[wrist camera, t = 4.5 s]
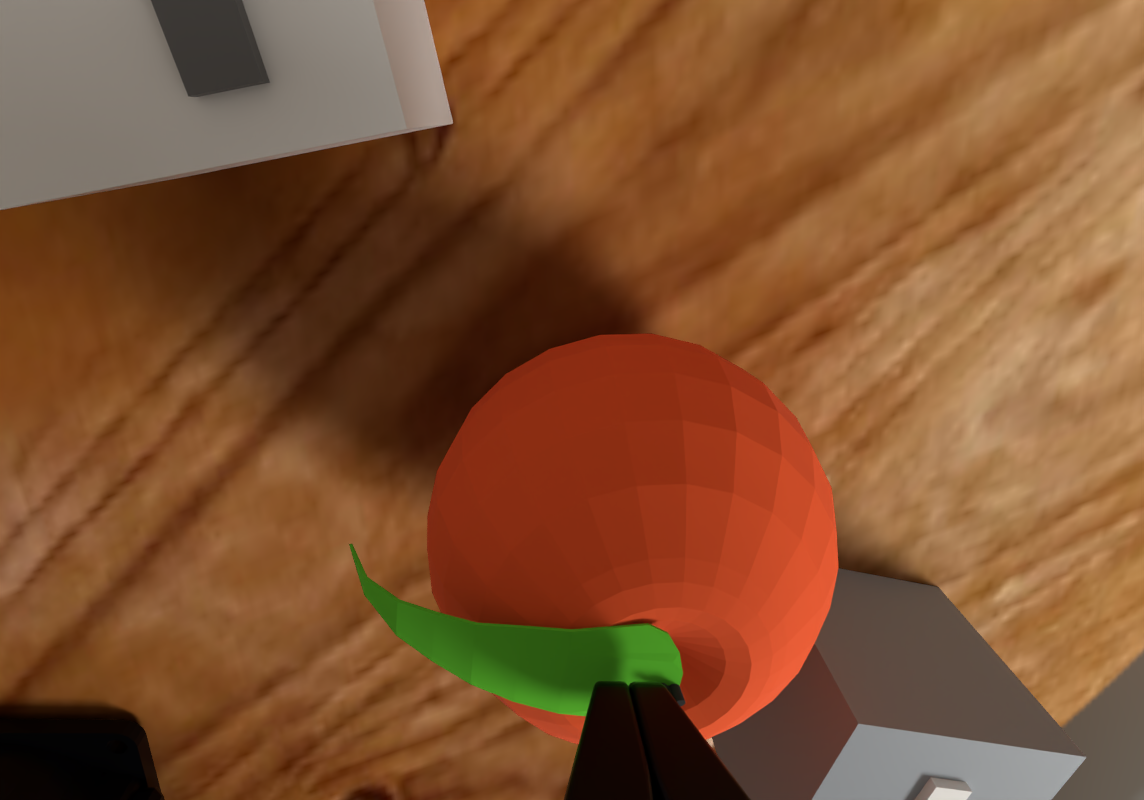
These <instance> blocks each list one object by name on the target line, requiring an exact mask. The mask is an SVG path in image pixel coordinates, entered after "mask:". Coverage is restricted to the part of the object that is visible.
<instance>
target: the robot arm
mask: <svg viewBox="0 0 1144 800" xmlns="http://www.w3.org/2000/svg"><path fill="white" fill-rule="evenodd" d="M0 800H164V796H163V795H162V793H161V790H160V786H159V782H158V778H157V774H156V770H155V767H154V763H153V759H152V755H151V751H150V747H149V743H148V740H147V736H146V733H145V731H144V729H143V728H142V727H141V726H140V725H138V724H137V723H134V722H132V721H128V720H49V719H0ZM564 800H751V799H750V798H749V797H748V795H747V794H746V793H745V791H744V790H743V789H742V787H741V786H740V785H739V783H738V782H737V781H736V779H735V778H734V777H733V775H732V774H731V773H730V771H729V770H728V769H727V767H726V766H725V765H724V763H723V762H722V761H721V759H720V758H719V757H718V755H717V754H716V753H715V751H714V750H713V749H712V748H711V746H710V745H709V744H708V742H707V741H706V740H705V738H704V737H703V736H702V734H701V733H700V732H699V730H698V729H697V728H696V726H695V725H694V724H693V722H692V721H691V720H690V718H689V717H688V716H687V714H686V713H685V712H684V710H683V709H682V708H681V706H680V705H679V704H678V703H677V701H676V700H675V699H674V697H673V696H672V695H671V693H670V692H669V691H668V689H667V688H666V687H665V686H664V685H663V684H662V683H660V682H638V681H634V682H631V683H630V684H629V686H628V685H627V683H625V682H622V681H598V682H596V683H595V685H594V688H593V691H592V695H591V699H590V702H589V706H588V710H587V714H586V718H585V721H584V725H583V729H582V733H581V737H580V740H579V744H578V748H577V752H576V756H575V759H574V763H573V767H572V771H571V775H570V778H569V782H568V786H567V790H566V794H565V797H564Z"/></svg>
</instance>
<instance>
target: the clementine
mask: <svg viewBox="0 0 1144 800" xmlns="http://www.w3.org/2000/svg"><path fill="white" fill-rule="evenodd" d="M349 545H350V549H351V552H352V555H353V559H354V562H355V565H356V569H357V572H358V575H359V579H360V582H361V586H362V589H363V592H364V595H365V596H366V598H367V599H368V600H369V601H370V603H371V604H372V605H373V606H374V608H375V609H376V610H377V612H378V613H379V614H380V615H381V617H382V618H383V619H384V620H385V622H386V623H387V624H388V625H389V627H390V628H391V629H392V631H393V632H394V633H395V634H396V636H398V637H399V638H401V639H402V640H403V641H405V642H406V643H408V644H409V645H410V646H412V647H413V648H414V649H416V650H417V651H419V652H420V653H421V654H423V655H424V656H426V657H427V658H428V659H430V660H431V661H433V662H434V663H436V664H438V665H439V666H441V667H443V668H444V669H446V670H448V671H449V672H451V673H453V674H454V675H456V676H458V677H459V678H461V679H463V680H464V681H466V682H468V683H469V684H471V685H474V686H476V687H479V688H481V689H483V690H486V691H488V692H491V693H492V694H493V695H494V696H496V697H497V698H498V699H499V700H500V701H502V702H503V703H504V704H505V705H506V706H508V707H509V708H510V709H511V710H512V711H514V712H515V713H516V714H517V715H518V716H520V717H522V718H523V719H525V720H526V721H528V722H529V723H531V724H533V725H534V726H536V727H537V728H539V729H541V730H542V731H544V732H545V733H547V734H549V735H551V736H554V737H557V738H560V739H563V740H566V741H569V742H572V743H575V744H579V740H580V737H581V733H582V729H583V725H584V721H585V718H586V714H587V710H588V706H589V702H590V699H591V695H592V691H593V688H594V685H595V683H596V682H598V681H622V682H625V683H627V685H628V686H629V684H630V683H631V682H634V681H638V682H660V683H662V684H663V685H664V686H665V687H666V688H667V689H668V691H669V692H670V693H671V695H672V696H673V697H674V699H675V700H676V701H677V703H678V704H679V705H680V706H681V708H682V709H683V710H684V712H685V713H686V714H687V716H688V717H689V718H690V720H691V721H692V722H693V724H694V725H695V726H696V728H697V729H698V730H699V732H700V733H701V734H702V736H703V737H704V738H705V740H706V739H709V738H711V737H713V736H715V735H717V734H720V733H722V732H724V731H726V730H728V729H730V728H732V727H734V726H736V725H738V724H740V723H742V722H743V721H745V720H746V719H747V718H749V717H750V716H752V715H753V714H755V713H756V712H757V711H759V710H760V709H762V708H763V707H765V706H766V705H767V704H769V703H770V702H772V701H773V700H774V699H775V698H776V697H777V696H778V695H779V694H780V692H781V691H782V690H783V689H784V688H785V687H786V686H787V685H788V684H789V683H790V682H791V680H792V679H793V678H794V677H795V676H796V675H797V674H798V673H799V671H800V669H801V667H802V666H803V664H804V662H805V660H806V658H807V656H808V654H809V653H810V651H811V649H812V647H813V645H814V643H815V641H816V639H817V637H818V635H819V632H820V630H821V628H822V626H823V623H824V621H825V619H826V616H827V614H828V612H829V610H830V606H831V602H832V597H833V592H834V587H835V583H836V578H837V573H838V568H839V567H838V548H837V531H836V522H835V513H834V504H833V495H832V488H831V486H830V484H829V482H828V479H827V477H826V475H825V473H824V471H823V469H822V467H821V465H820V463H819V461H818V458H817V456H816V454H815V452H814V450H813V448H812V446H811V444H810V442H809V440H808V439H807V437H806V435H805V433H804V431H803V429H802V427H801V425H800V424H799V422H798V420H797V418H796V417H795V416H794V415H793V414H792V412H791V411H790V410H789V409H788V408H787V407H786V406H785V405H784V404H783V403H782V402H781V401H780V400H779V399H778V398H777V397H776V396H775V395H774V394H773V393H772V392H771V391H770V389H769V388H768V387H767V386H766V385H765V384H764V383H763V382H761V381H760V380H758V379H757V378H755V377H754V376H752V375H751V374H749V373H748V372H746V371H745V370H743V369H742V368H740V367H738V366H736V365H735V364H733V363H731V362H729V361H727V360H726V359H724V358H722V357H720V356H718V355H717V354H715V353H713V352H711V351H709V350H708V349H706V348H704V347H702V346H700V345H697V344H693V343H689V342H684V341H680V340H676V339H672V338H668V337H664V336H659V335H655V334H613V335H597V336H594V337H590V338H587V339H583V340H579V341H576V342H572V343H569V344H565V345H561V346H558V347H554V348H551V349H549V350H547V351H545V352H543V353H542V354H540V355H538V356H536V357H535V358H533V359H531V360H529V361H528V362H526V363H524V364H522V365H521V366H519V367H517V368H515V369H514V370H512V371H510V372H508V373H507V374H505V375H504V376H503V377H502V378H501V379H500V380H499V381H498V382H497V383H496V384H495V385H494V386H493V387H492V388H491V389H490V390H489V391H488V392H487V393H486V394H485V395H484V396H483V397H482V398H481V399H480V400H479V401H478V402H477V403H476V404H475V405H474V406H473V407H472V408H471V410H470V412H469V414H468V416H467V417H466V419H465V421H464V423H463V424H462V426H461V428H460V430H459V432H458V433H457V435H456V437H455V439H454V441H453V442H452V444H451V446H450V448H449V450H448V451H447V453H446V455H445V457H444V459H443V461H442V463H441V464H440V466H439V468H438V470H437V473H436V478H435V483H434V488H433V492H432V497H431V502H430V507H429V512H428V526H427V551H428V560H429V568H430V577H431V586H432V593H433V595H434V598H435V600H436V602H437V604H438V607H439V609H440V611H441V613H439V612H436V611H433V610H430V609H427V608H424V607H420V606H417V605H414V604H411V603H408V602H405V601H402V600H399V599H398V598H397V597H395V596H394V595H392V594H391V593H389V592H388V591H387V590H385V589H384V588H382V587H381V586H379V585H378V584H377V583H375V582H374V581H372V580H371V579H369V578H368V577H367V575H366V573H365V571H364V569H363V567H362V564H361V562H360V560H359V558H358V555H357V553H356V551H355V549H354V547H353V544H349Z"/></svg>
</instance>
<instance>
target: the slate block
mask: <svg viewBox="0 0 1144 800" xmlns="http://www.w3.org/2000/svg"><path fill="white" fill-rule="evenodd" d="M712 739H713V742H714V746H715V749H716V752H717V755H718V757H719V758H720V759H721V761H722V762H723V763H724V765H725V766H726V767H727V769H728V770H729V771H730V773H731V774H732V775H733V777H734V778H735V779H736V781H737V782H738V783H739V785H740V786H741V787H742V789H743V790H744V791H745V793H746V794H747V795H748V797H749V798H750V799H751V800H1051V799H1052V798H1053V797H1054V795H1055V794H1056V793H1057V792H1058V791H1059V790H1060V788H1061V787H1062V786H1063V785H1064V784H1065V783H1066V781H1067V780H1068V779H1069V778H1070V776H1071V775H1072V774H1073V773H1074V772H1075V771H1076V769H1077V768H1078V767H1079V766H1080V765H1081V763H1082V762H1083V761H1084V760H1085V759H1086V756H1085V755H1084V754H1083V752H1082V751H1081V750H1080V749H1079V748H1078V747H1077V746H1076V744H1075V743H1074V742H1073V741H1072V740H1071V739H1070V737H1069V736H1068V735H1067V734H1066V733H1065V732H1064V731H1063V729H1062V728H1061V727H1060V726H1059V725H1058V724H1057V722H1056V721H1055V720H1054V719H1053V718H1052V717H1051V716H1050V714H1049V713H1048V712H1047V711H1046V710H1045V709H1044V708H1043V706H1042V705H1041V704H1040V703H1039V702H1038V701H1037V700H1036V698H1035V697H1034V696H1033V695H1032V694H1031V693H1030V692H1029V690H1028V689H1027V688H1026V687H1025V686H1024V685H1023V684H1022V682H1021V681H1020V680H1019V679H1018V678H1017V677H1016V676H1015V674H1014V673H1013V672H1012V671H1011V670H1010V669H1009V668H1008V666H1007V665H1006V664H1005V663H1004V662H1003V661H1002V659H1001V658H1000V657H999V656H998V655H997V654H996V653H995V651H994V650H993V649H992V648H991V647H990V646H989V645H988V643H987V642H986V641H985V640H984V639H983V638H982V637H981V635H980V634H979V633H978V632H977V631H976V630H975V629H974V627H973V626H972V625H971V624H970V623H969V622H968V621H967V619H966V618H965V617H964V616H963V615H962V614H961V613H960V611H959V610H958V609H957V608H956V607H955V606H954V604H953V603H952V602H951V601H950V600H949V599H948V598H947V596H946V595H945V594H944V593H943V592H942V591H941V590H940V588H939V587H935V586H930V585H925V584H919V583H914V582H909V581H904V580H898V579H893V578H888V577H882V576H877V575H872V574H867V573H861V572H856V571H851V570H845V569H840V568H838V573H837V578H836V583H835V587H834V592H833V597H832V602H831V606H830V610H829V612H828V614H827V616H826V619H825V621H824V623H823V626H822V628H821V630H820V632H819V635H818V637H817V639H816V641H815V643H814V645H813V647H812V649H811V651H810V653H809V654H808V656H807V658H806V660H805V662H804V664H803V666H802V667H801V669H800V671H799V673H798V674H797V675H796V676H795V677H794V678H793V679H792V680H791V682H790V683H789V684H788V685H787V686H786V687H785V688H784V689H783V690H782V691H781V692H780V694H779V695H778V696H777V697H776V698H775V699H774V700H773V701H772V702H770V703H769V704H767V705H766V706H765V707H763V708H762V709H760V710H759V711H757V712H756V713H755V714H753V715H752V716H750V717H749V718H747V719H746V720H745V721H743V722H742V723H740V724H738V725H736V726H734V727H732V728H730V729H728V730H726V731H724V732H722V733H720V734H717V735H715V736H713V737H712Z"/></svg>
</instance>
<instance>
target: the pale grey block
mask: <svg viewBox="0 0 1144 800" xmlns="http://www.w3.org/2000/svg"><path fill="white" fill-rule="evenodd" d="M449 124H453V121H452V116H451V112H450V108H449V104H448V100H447V95H446V91H445V87H444V83H443V78H442V74H441V70H440V66H439V62H438V57H437V53H436V49H435V45H434V41H433V36H432V32H431V28H430V24H429V20H428V15H427V11H426V7H425V3H424V0H0V210H4V209H10V208H15V207H21V206H27V205H32V204H38V203H43V202H49V201H54V200H60V199H66V198H71V197H77V196H82V195H88V194H93V193H99V192H105V191H110V190H116V189H121V188H127V187H132V186H138V185H144V184H149V183H155V182H160V181H166V180H171V179H177V178H183V177H188V176H193V175H198V174H203V173H208V172H213V171H218V170H223V169H228V168H233V167H238V166H243V165H248V164H253V163H258V162H263V161H268V160H273V159H278V158H283V157H288V156H293V155H298V154H303V153H308V152H313V151H318V150H323V149H328V148H333V147H338V146H344V145H349V144H354V143H359V142H364V141H369V140H374V139H379V138H384V137H389V136H394V135H399V134H404V133H409V132H414V131H419V130H424V129H429V128H434V127H439V126H444V125H449Z"/></svg>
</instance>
